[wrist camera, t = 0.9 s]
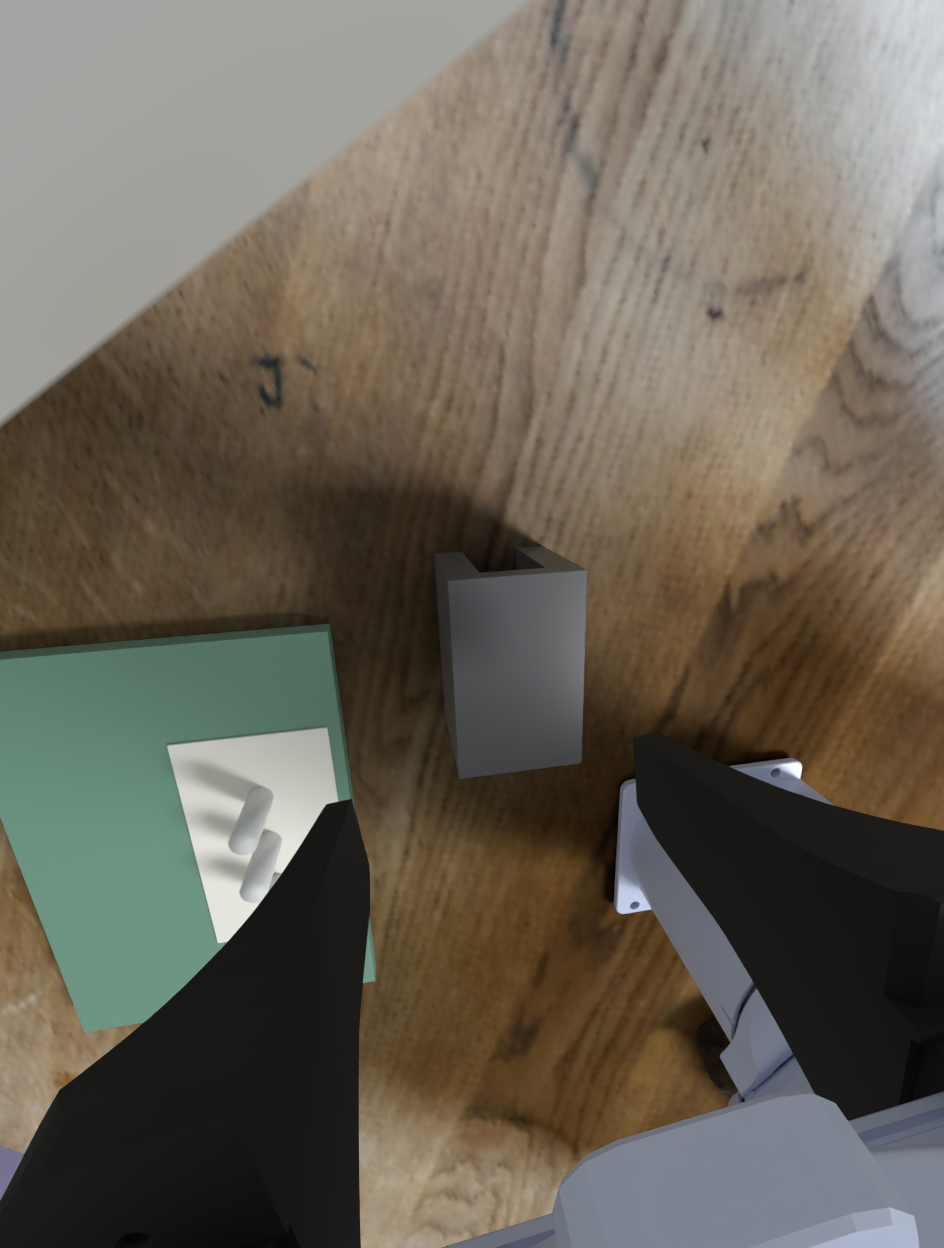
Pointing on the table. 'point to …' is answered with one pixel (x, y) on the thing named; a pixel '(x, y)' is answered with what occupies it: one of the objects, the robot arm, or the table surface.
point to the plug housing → (512, 661)
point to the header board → (163, 797)
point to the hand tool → (715, 1055)
